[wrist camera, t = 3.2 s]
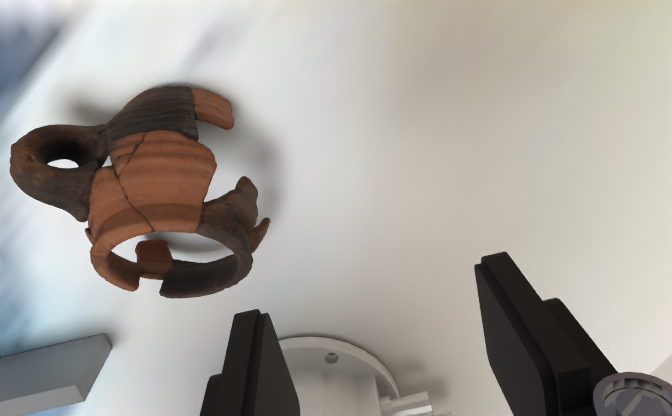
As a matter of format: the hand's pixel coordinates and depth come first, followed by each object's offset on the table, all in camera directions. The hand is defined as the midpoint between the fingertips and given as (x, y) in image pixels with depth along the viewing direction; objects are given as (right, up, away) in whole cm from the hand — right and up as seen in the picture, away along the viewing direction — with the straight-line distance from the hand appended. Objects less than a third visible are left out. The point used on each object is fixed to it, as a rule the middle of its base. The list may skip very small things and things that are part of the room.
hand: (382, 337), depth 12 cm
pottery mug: (-10, +5, +17) cm, 20 cm away
